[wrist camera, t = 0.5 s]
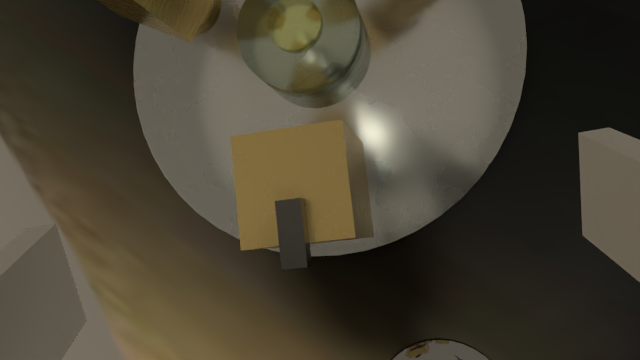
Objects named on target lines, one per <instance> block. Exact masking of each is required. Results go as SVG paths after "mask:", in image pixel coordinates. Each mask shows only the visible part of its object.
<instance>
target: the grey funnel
mask: <svg viewBox="0 0 640 360" xmlns="http://www.w3.org/2000/svg"><path fill="white" fill-rule="evenodd" d="M392 360H489V359H488V358H487V357H486V356H485V355H483V354H482V353H480V352H479V351H478V350H476V349H474V348H472V347H470V346H468V345H466V344H463V343H460V342H456V341H452V340H443V339H435V340H426V341H422V342H419V343H415V344H413V345H411V346H409V347H407V348H405V349H404V350H402V351H401V352H400V353H398V354H397V355H396V356H395V357H394V358H393V359H392Z"/></svg>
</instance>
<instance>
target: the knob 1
mask: <svg viewBox="0 0 640 360" xmlns="http://www.w3.org/2000/svg"><path fill="white" fill-rule="evenodd" d="M97 1H99V2H100V3H102V4H103V5H105V6H106V7H108V8H109V9H111V10H112V11H114V12H115V13H117V14H118V15H120V16H122V17H125V18H127V19H130V20H132V21H135V22H137V23H140V24H143V25H145V26H148V27H150V28H153V29H155V30H158V31H160V32H163V33H166V34H168V35H171V36H173V37H176V38H178V39H181V40H184V41H186V42H189V43H191V44H192V42H193V40H194V38H195V37H198V36H200V35H203V34H204V33H206V32H207V31H209V30H210V29H211V28H212V27H213V26H214V24H215V23H216V21H217V19H218V17H219V15H220V11H221V0H97Z"/></svg>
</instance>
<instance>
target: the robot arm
mask: <svg viewBox="0 0 640 360" xmlns="http://www.w3.org/2000/svg"><path fill="white" fill-rule="evenodd" d="M578 136H579V161H580V186H581V211H582V235H583V236H584V237H585V238H587V239H588V240H589V241H590V242H591V243H593V244H594V245H595V246H596V247H598V248H599V249H600V250H601V251H602V252H604V253H605V254H606V255H607V256H609V257H610V258H611V259H612V260H613V261H615V262H616V263H617V264H618V265H620V266H621V267H622V268H623V269H624V270H626V271H627V272H628V273H629V274H630V275H632V276H633V277H634V278H635V279H637V280H638V281H639V282H640V140H638V139H636V138H634V137H631V136H629V135H626V134H624V133H621V132H619V131H616V130H614V129H612V128H603V129H598V130H592V131H586V132H580V133H578ZM86 321H87V320H86V316H85V313H84V310H83V307H82V304H81V301H80V298H79V295H78V292H77V288H76V286H75V282H74V279H73V276H72V273H71V270H70V267H69V264H68V260H67V257H66V254H65V251H64V248H63V245H62V242H61V239H60V236H59V232H58V229H57V226H56V224H50V225H45V226H39V227H33V228H27V229H25V230H23V232H21V233H20V234H19V235H18V236H16V237H15V238H14V239H13V240H12V241H11V242H9V243H8V244H7V245H6V246H5V247H4V248H2V249H1V250H0V360H61V359H62V358H63V356H64V355H65V353H66V352H67V350H68V349H69V347H70V346H71V344H72V343H73V341H74V339H75V338H76V336H77V335H78V333H79V332H80V330H81V329H82V327H83V325H84V324H85V322H86Z"/></svg>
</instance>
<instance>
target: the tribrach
mask: <svg viewBox="0 0 640 360" xmlns="http://www.w3.org/2000/svg"><path fill="white" fill-rule="evenodd" d="M526 54H527V39H526V27H525V17H524V12H523V8H522V4H521V0H221V11H220V15H219V17H218V19H217V21H216V23H215V24H214V26H213V27H212V28H211V29H210V30H209V31H207V32H206V33H204V34H203V35H200V36H198V37H195V38H194V40H193V42H192V44H191V43H189V42H186V41H184V40H181V39H178V38H176V37H173V36H171V35H168V34H166V33H163V32H160V31H158V30H155V29H153V28H150V27H148V26H145V25H143V24H139V28H138V33H137V37H136V44H135V53H134V91H135V99H136V106H137V112H138V115H139V119H140V123H141V126H142V130H143V134H144V136H145V138H146V141H147V143H148V146H149V148H150V151H151V153H152V155H153V157H154V159H155V161H156V162H157V164H158V166H159V167H160V169H161V171H162V173H163V174H164V176H165V177H166V179H167V180H168V181H169V183H170V184H171V185H172V186H173V188H174V189H175V190H176V192H177V193H178V194H179V195H180V196H181V197H182V198H183V199H184V200H185V201H186V202H187V203H188V204H189V205H190V206H191V207H192V208H193V209H194V210H195V211H196V212H197V213H198V214H200V215H201V216H202V217H204V218H205V219H206V220H208V221H209V222H210V223H212V224H213V225H214V226H216V227H217V228H219V229H221V230H223V231H225V232H226V233H228V234H230V235H232V236H234V237H235V238H237V239H240V235H239V224H238V214H237V203H236V192H235V181H234V171H233V160H232V149H231V139H230V136H235V135H242V134H249V133H255V132H262V131H268V130H275V129H281V128H288V127H295V126H301V125H308V124H314V123H321V122H327V121H334V120H341V119H342V120H343V121H344V122H345V123H346V124H347V125H348V127H349V128H350V129H351V130H352V131H353V132H354V133H355V134H356V135H357V136H358V138H359V139H360V140H361V141H362V142H363V147H364V155H365V164H366V172H367V180H368V189H369V197H370V206H371V214H372V222H373V231H374V237H370V238H361V239H352V240H343V241H334V242H325V243H316V244H310V250H311V256H334V255H344V254H349V253H355V252H361V251H366V250H370V249H373V248H377V247H380V246H383V245H386V244H389V243H392V242H395V241H397V240H399V239H401V238H404V237H406V236H408V235H410V234H412V233H414V232H416V231H418V230H420V229H421V228H423V227H425V226H426V225H428V224H429V223H431V222H432V221H434V220H435V219H437V218H439V217H440V216H442V215H443V214H444V213H445V212H446V211H447V210H449V209H450V208H451V207H452V206H453V205H455V204H456V203H457V202H458V201H459V200H460V199H462V198H463V196H464V195H465V194H466V193H467V192H468V191H469V190H470V189H471V188H472V187H473V185H474V184H475V183H476V182H477V181H478V180H479V179H480V178H481V176H482V175H483V173H484V172H485V170H486V169H487V167H488V166H489V165H490V163H491V162H492V160H493V159H494V157H495V156H496V154H497V153H498V151H499V149H500V147H501V145H502V143H503V141H504V139H505V137H506V135H507V133H508V131H509V129H510V127H511V124H512V122H513V119H514V116H515V113H516V110H517V107H518V104H519V101H520V97H521V92H522V87H523V82H524V77H525V71H526ZM266 249H268V250H272V251H276V252H280V249H279V248H266Z"/></svg>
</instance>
